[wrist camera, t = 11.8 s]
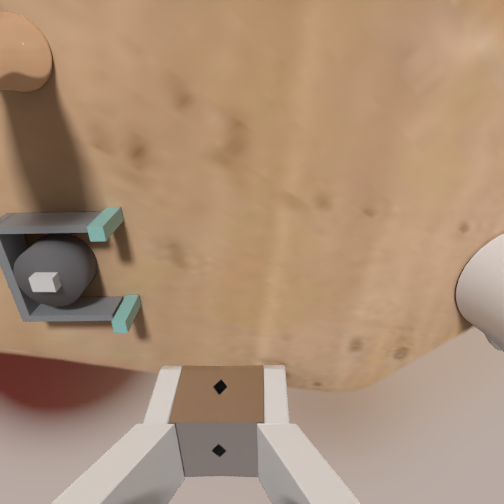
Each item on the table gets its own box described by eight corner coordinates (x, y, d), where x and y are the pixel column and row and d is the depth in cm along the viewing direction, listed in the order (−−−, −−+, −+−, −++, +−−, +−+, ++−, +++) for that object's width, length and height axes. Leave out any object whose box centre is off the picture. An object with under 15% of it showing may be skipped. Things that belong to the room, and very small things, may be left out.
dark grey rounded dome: (90, 232, 40) (68, 254, 35) (103, 286, 43) (84, 313, 38) (26, 231, 40) (-4, 254, 35) (44, 285, 43) (18, 313, 39)
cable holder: (120, 207, 38) (102, 226, 34) (141, 305, 44) (127, 332, 40) (5, 209, 39) (-28, 228, 34) (40, 306, 44) (16, 333, 40)
